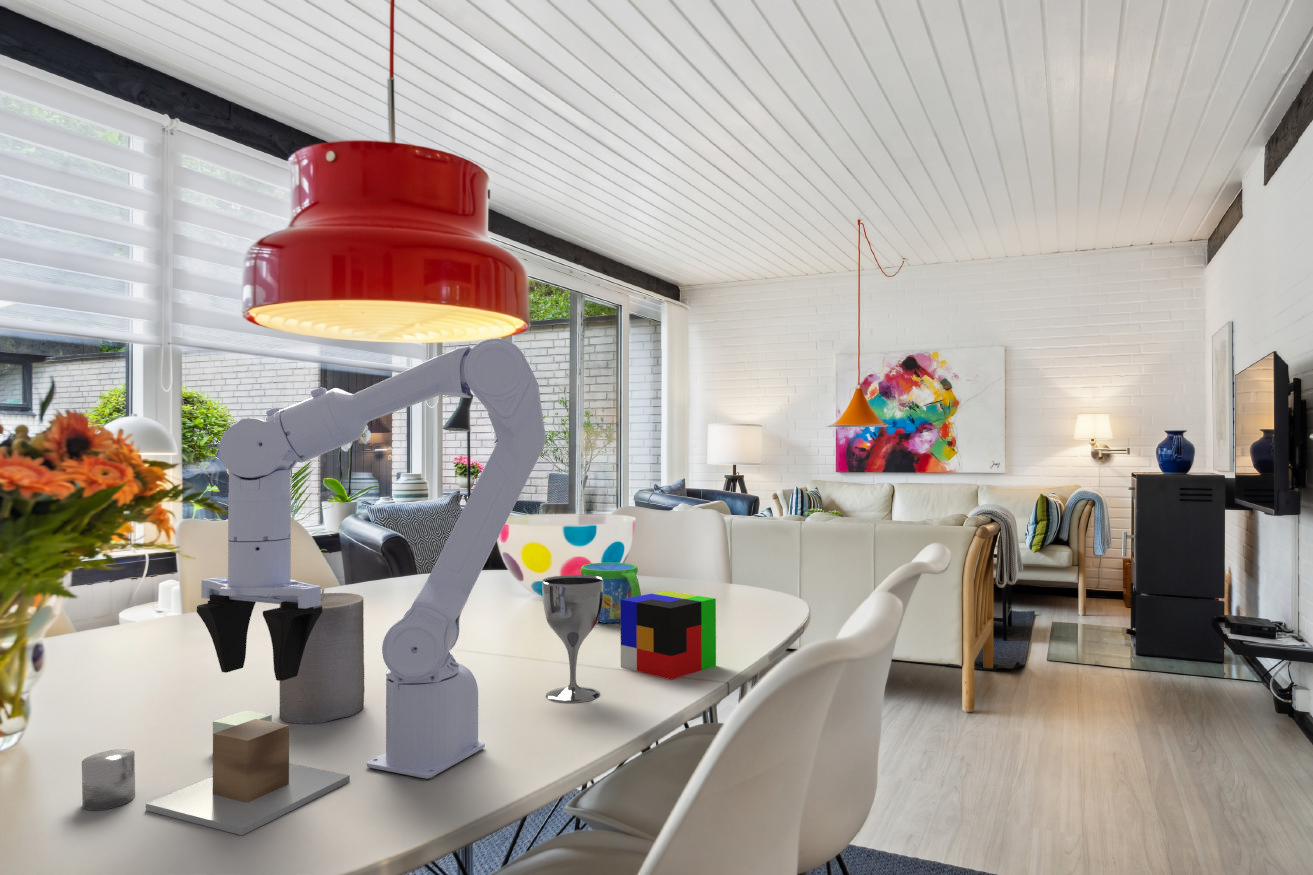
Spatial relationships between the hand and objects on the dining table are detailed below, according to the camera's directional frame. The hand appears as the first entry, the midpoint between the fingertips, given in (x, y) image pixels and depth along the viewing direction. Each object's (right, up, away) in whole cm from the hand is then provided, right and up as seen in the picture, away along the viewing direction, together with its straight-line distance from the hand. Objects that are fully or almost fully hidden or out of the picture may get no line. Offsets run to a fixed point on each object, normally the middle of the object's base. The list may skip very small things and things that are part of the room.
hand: (259, 673), depth 82 cm
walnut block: (+3, -9, -7) cm, 11 cm away
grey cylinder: (-10, -9, -8) cm, 16 cm away
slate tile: (+3, -9, -7) cm, 12 cm away
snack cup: (+31, -11, +71) cm, 79 cm away
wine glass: (+29, -10, +24) cm, 39 cm away
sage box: (-4, -10, +5) cm, 12 cm away
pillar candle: (-1, -10, +18) cm, 20 cm away
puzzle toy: (+42, -10, +38) cm, 58 cm away
